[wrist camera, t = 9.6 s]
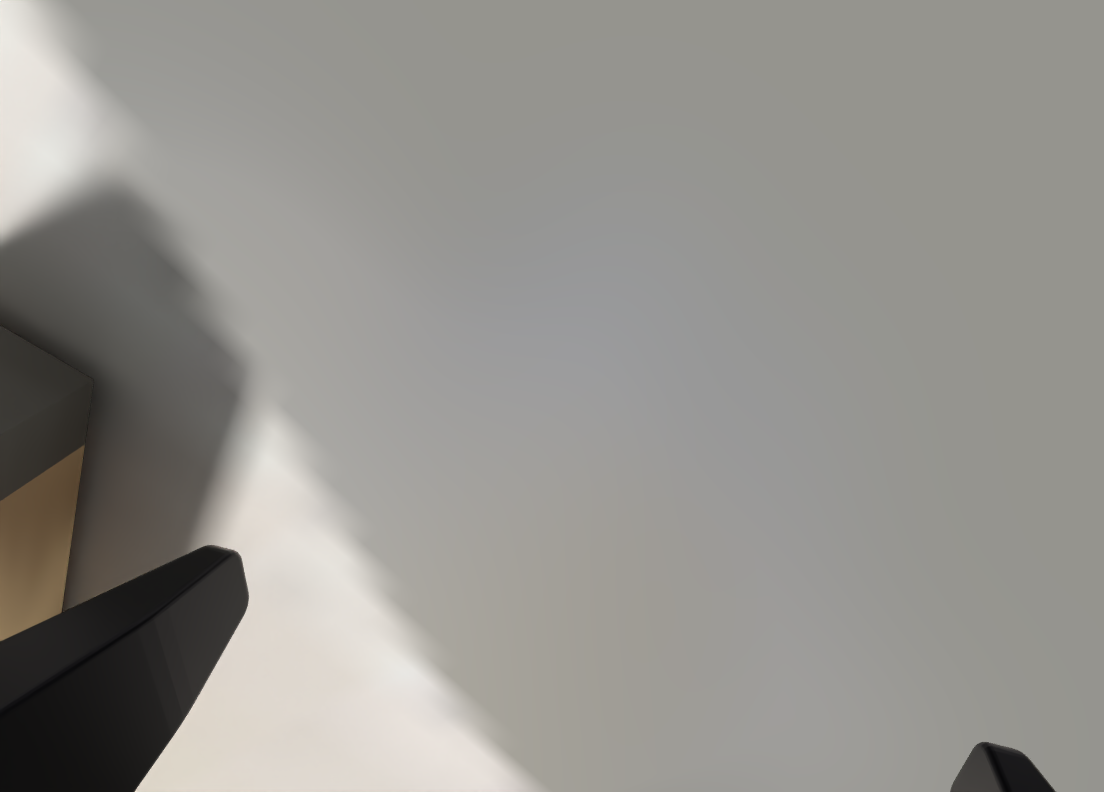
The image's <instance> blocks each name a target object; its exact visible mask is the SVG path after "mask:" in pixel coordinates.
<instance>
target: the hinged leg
mask: <svg viewBox="0 0 1104 792" xmlns="http://www.w3.org/2000/svg"><path fill="white" fill-rule="evenodd" d="M93 383H94V380H93V379H92V378H90V377H88V376H86V375H85V374H83V373H81V372H80V371H78V370H76V369H74V368H73V367H71V366H69V365H67V364H66V363H64V362H62V361H61V360H59V359H57V358H55V357H54V356H52V355H50V354H49V353H47V352H45V351H43V350H42V349H40V348H38V347H37V346H35V345H33V344H31V343H30V342H28V341H26V340H24V339H23V338H21V337H19V336H18V335H16V334H14V333H12V332H11V331H9V330H7V329H6V328H4V327H2V326H0V641H2V640H4V639H6V638H8V637H11V636H13V635H15V634H17V633H19V632H21V631H23V630H26V629H28V628H30V627H32V626H34V625H36V624H38V623H41V622H43V621H45V620H47V619H49V618H51V617H53V616H56V615H58V614H60V613H61V612H62V605H63V598H64V591H65V583H66V576H67V569H68V562H69V555H70V548H71V541H72V533H73V526H74V519H75V512H76V505H77V498H78V491H79V483H80V476H81V469H82V462H83V455H84V448H85V441H86V433H87V426H88V419H89V412H90V405H91V398H92V391H93Z"/></svg>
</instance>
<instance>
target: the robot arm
mask: <svg viewBox="0 0 1104 792" xmlns="http://www.w3.org/2000/svg"><path fill="white" fill-rule="evenodd" d="M248 600H249V593H248V588H247V583H246V578H245V573H244V568H243V563H242V559H241V556H240V555H239V554H238V552H236V551H234V550H231V549H227V548H223V547H219V546H215V545H207V546H204V547H201V548H199V549H197V550H195V551H192V552H190V553H188V554H186V555H184V556H182V557H180V558H177V559H175V560H173V561H171V562H169V563H167V564H165V565H162V566H160V567H158V568H156V569H154V570H152V571H150V572H147V573H145V574H143V575H141V576H139V577H137V578H135V579H133V580H130V581H128V582H126V583H124V584H122V585H120V586H118V587H115V588H113V589H111V590H109V591H107V592H105V593H103V594H100V595H98V596H96V597H94V598H92V599H90V600H88V601H85V602H83V603H81V604H79V605H77V606H75V607H73V608H70V609H68V610H66V611H64V612H62V613H60V614H58V615H56V616H53V617H51V618H49V619H47V620H45V621H43V622H41V623H38V624H36V625H34V626H32V627H30V628H28V629H26V630H23V631H21V632H19V633H17V634H15V635H13V636H11V637H8V638H6V639H4V640H2V641H0V792H135V790H136V789H137V787H138V786H139V784H140V783H141V781H142V780H143V779H144V777H145V776H146V774H147V773H148V771H149V770H150V769H151V767H152V766H153V764H154V763H155V761H156V760H157V759H158V757H159V756H160V754H161V753H162V751H163V750H164V749H165V747H166V746H167V744H168V743H169V741H170V740H171V739H172V737H173V736H174V734H175V733H176V731H177V730H178V728H179V727H180V725H181V724H182V722H183V721H184V719H185V718H186V716H187V714H188V713H189V711H190V709H191V708H192V706H193V704H194V703H195V701H196V699H197V697H198V696H199V694H200V692H201V690H202V689H203V687H204V685H205V683H206V681H207V680H208V678H209V676H210V674H211V673H212V671H213V669H214V667H215V666H216V664H217V662H218V660H219V658H220V657H221V655H222V653H223V651H224V650H225V648H226V646H227V644H228V643H229V641H230V639H231V637H232V635H233V634H234V632H235V630H236V628H237V627H238V625H239V623H240V621H241V620H242V618H243V616H244V614H245V612H246V609H247V606H248ZM950 792H1055V790H1054V789H1053V788H1052V787H1051V785H1050V784H1049V783H1048V781H1047V780H1046V779H1045V778H1044V777H1043V775H1042V774H1041V773H1040V772H1039V770H1038V769H1037V768H1036V767H1035V765H1034V764H1033V763H1032V762H1031V760H1030V759H1029V758H1028V757H1027V756H1025V755H1024V754H1023V753H1022V752H1020V751H1018V750H1015V749H1012V748H1008V747H1004V746H1000V745H996V744H993V743H989V742H981V743H979V744H977V745H976V746H975V747H974V748H973V750H972V752H971V753H970V755H969V757H968V758H967V760H966V762H965V764H964V765H963V767H962V769H961V770H960V772H959V774H958V776H957V777H956V779H955V781H954V782H953V785H952V787H951V791H950Z"/></svg>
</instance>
